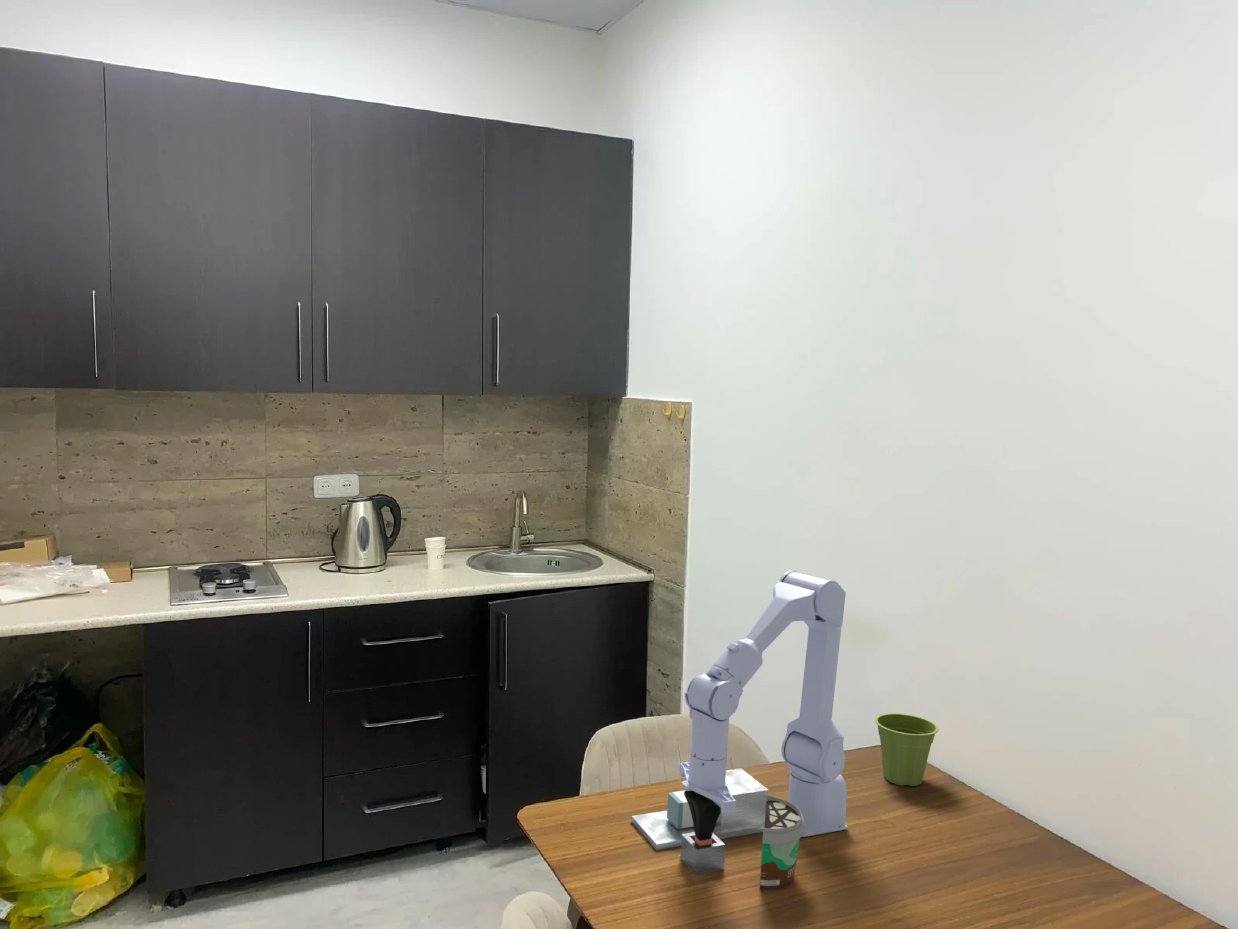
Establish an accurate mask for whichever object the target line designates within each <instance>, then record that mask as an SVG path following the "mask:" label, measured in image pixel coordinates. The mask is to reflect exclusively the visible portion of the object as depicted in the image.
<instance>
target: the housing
mask: <svg viewBox="0 0 1238 929" xmlns="http://www.w3.org/2000/svg"><path fill="white" fill-rule="evenodd" d="M725 781H726V782H727V785H728V788H729V790H730V793H731V795H732V797H733V798H734V799H735V800H736V808H735V813H731V814H725V815H724V814H723V813H721V814H720V815H719V817H718V820H717V822H716V825H715V828H714V831H713V833H714V834H715V835H716V836H717V837H718V838H719V839H720V840H723V839H729V838H735V837H741V836H746V835H752V834H758V833H763V828H764V824H765V809H766V795H768V796H769V788H767V787H766V786H765V785H763V784H762V783H760V782H759V781H758V780H757V779H755V778H754V777H753V776H752V775H750V773H748V772H747V771H745V770H744V769H742V768H741V767H740V768H735V769H726V778H725ZM630 817H631V823H632V824H633V825H634V827H635V828H636V829H637V830H638V831H639V832H640V833H641V835H642V836H643V837H644V838H645V839H646V840H647V841H648V843H650V845H651V846H652V847H653V848H654V849H655V851H661V850H666V849H672V848H676V847H677V848H678V847H681V838H682V834H686V833H692V832H695V831H694V826H692V827H686V828H680V829H677V828H676V827H675V826H674V825H673V824H672V823H671V822H670V821H669V820H668V819H667V810H662V811H661V810H660V811H655V812H654V811H653V812H648V813H642V814H636V815H631V816H630Z"/></svg>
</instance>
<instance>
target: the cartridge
mask: <svg viewBox="0 0 1238 929" xmlns="http://www.w3.org/2000/svg"><path fill="white" fill-rule="evenodd" d="M684 791H686V790H685V789H684V790H677V791H672V792H668V793H667V806H666V807H667V809H666V811H667V819H668V820H669V821H670V822H671V823H672V824H673V825H674V826H675V827H676V828H677V829H680V828H686V827H692V826H694V825H693V820H692V815H691V811H690V807H689V805H688V802H687V800H686V798H685V796H684Z"/></svg>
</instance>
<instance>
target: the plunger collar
mask: <svg viewBox="0 0 1238 929" xmlns="http://www.w3.org/2000/svg"><path fill="white" fill-rule="evenodd" d="M679 858H680V860H681V861H682V862H683V863H684V864H685V865H686V867H687V868H688V869H689V870H690V871H691V872H692V873H693V874H694V876H696V875H697V876H698V875H701V874H708V873H713V872H718V871H724V870H725V858H726V844H725V843H724V842H723V841H722V839H719V838H718V837H717V836H716V835H715V834H714V833H713V834H712V844H707V845H702V846H699V845H698V844H697V843H696V842H695V832H692V833H686V834H682V838H681V846H680V857H679Z"/></svg>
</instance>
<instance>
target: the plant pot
mask: <svg viewBox="0 0 1238 929" xmlns="http://www.w3.org/2000/svg"><path fill="white" fill-rule="evenodd" d="M874 722H875V724H876V725H877V730H878V736H879V740H880V741H879V742H880V752H881V761H882V771H883V777H884V778H885V780H886V781H888V782H889V783H891V784H892V783H893V784H895V785H898V786H910V787H916V786H919V785H921V784H922V783H923V779H924V777H925V776H924V775H925V771H926V766H927V763H928V758H929V755H930V751H931V746H932V744H933V743H934V739H935V736H936V734H937V733H938V732H939V729H940V728H939V726H938V725H937V724H936V723H935V722H933V721H931V720H929V719H926V718H924V717H921V716H916V715H912V714H906V713H896V712H895V713H892V712H891V713H883V714H879V715H877V716H875V718H874Z"/></svg>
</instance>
